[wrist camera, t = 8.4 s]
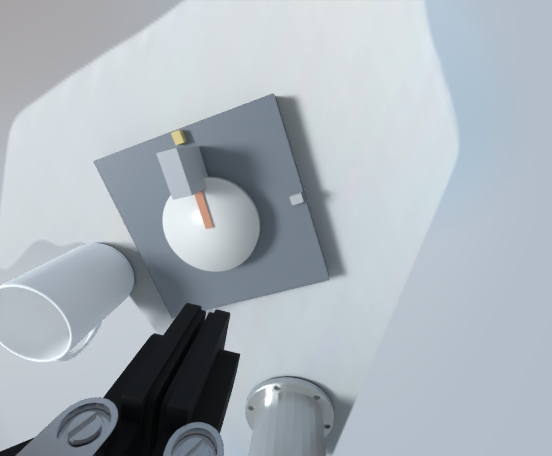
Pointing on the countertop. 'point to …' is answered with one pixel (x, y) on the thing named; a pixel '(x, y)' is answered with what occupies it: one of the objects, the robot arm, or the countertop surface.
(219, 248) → the dial
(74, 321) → the mug
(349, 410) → the countertop surface
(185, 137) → the panel
